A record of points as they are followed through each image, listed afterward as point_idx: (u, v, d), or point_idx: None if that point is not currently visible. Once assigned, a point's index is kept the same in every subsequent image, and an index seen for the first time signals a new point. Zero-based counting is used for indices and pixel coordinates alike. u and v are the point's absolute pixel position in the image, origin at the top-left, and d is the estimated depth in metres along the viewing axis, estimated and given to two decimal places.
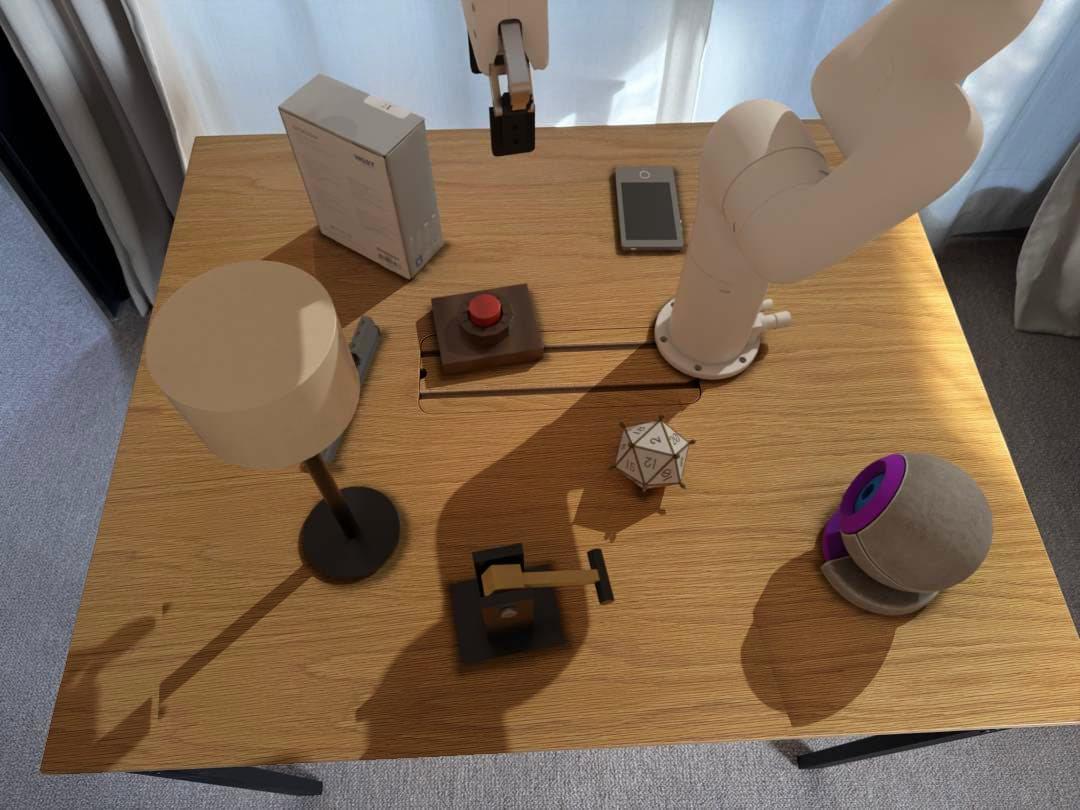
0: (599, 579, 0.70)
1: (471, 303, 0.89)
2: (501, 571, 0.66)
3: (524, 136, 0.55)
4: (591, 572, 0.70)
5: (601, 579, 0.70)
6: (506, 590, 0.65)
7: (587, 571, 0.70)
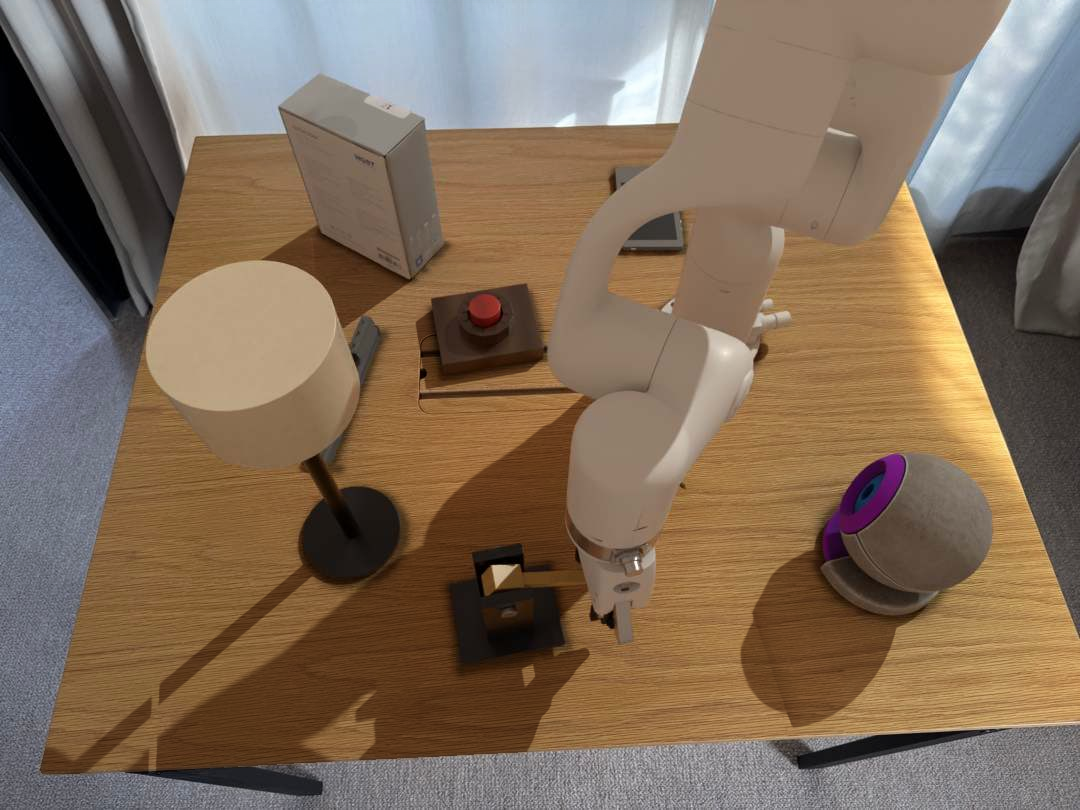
0: None
1: (471, 303, 0.89)
2: (501, 571, 0.66)
3: None
4: None
5: None
6: (506, 590, 0.65)
7: None
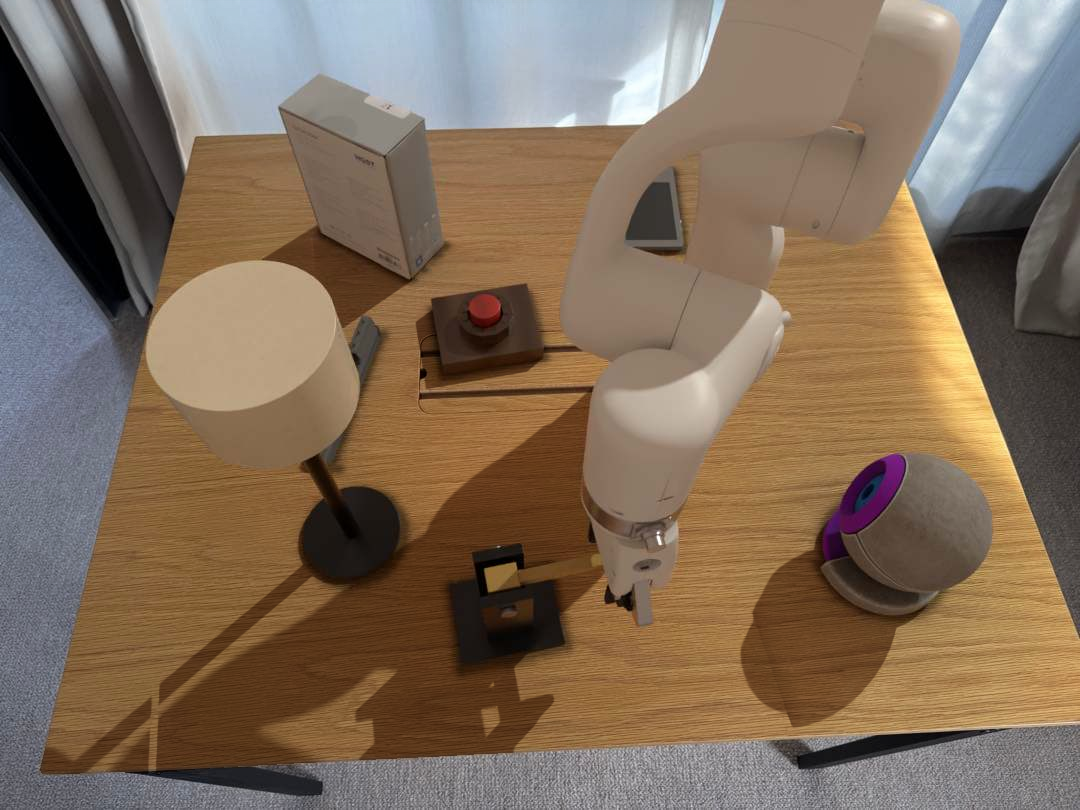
0: None
1: (471, 303, 0.89)
2: (494, 573, 0.66)
3: None
4: (600, 556, 0.67)
5: None
6: (502, 591, 0.65)
7: (596, 556, 0.67)
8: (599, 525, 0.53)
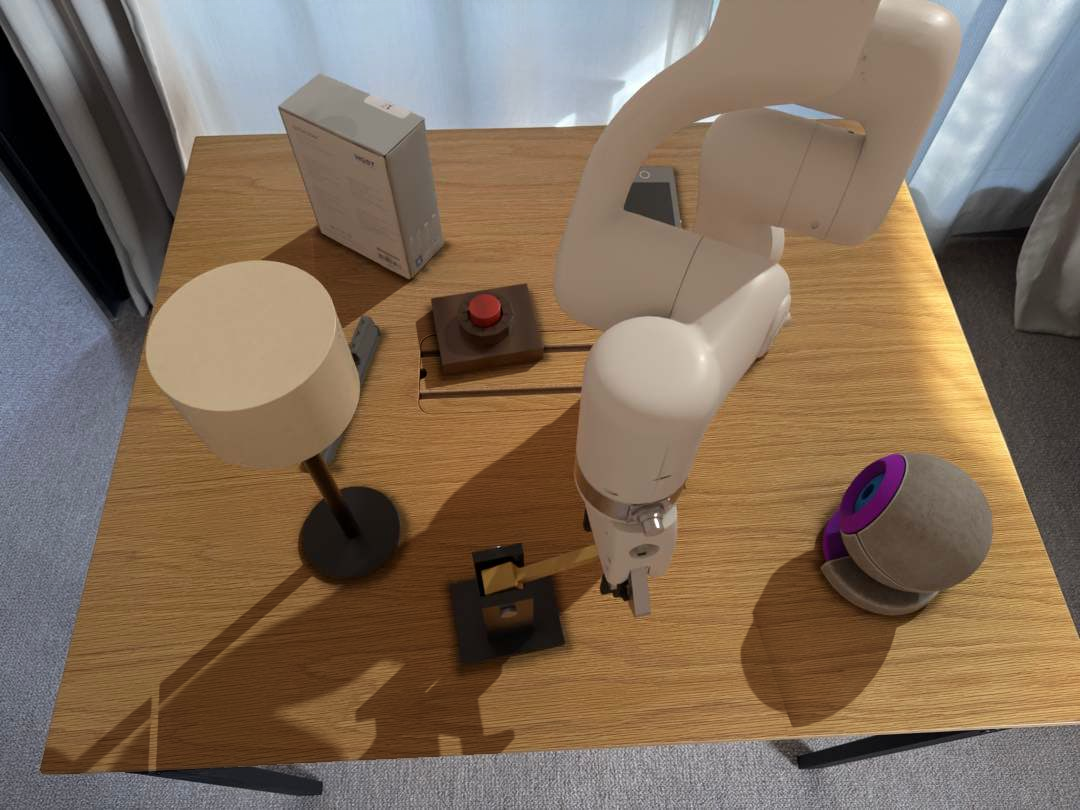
0: None
1: (471, 303, 0.89)
2: (491, 574, 0.66)
3: None
4: (596, 547, 0.65)
5: None
6: (499, 592, 0.65)
7: (591, 547, 0.65)
8: (593, 508, 0.51)
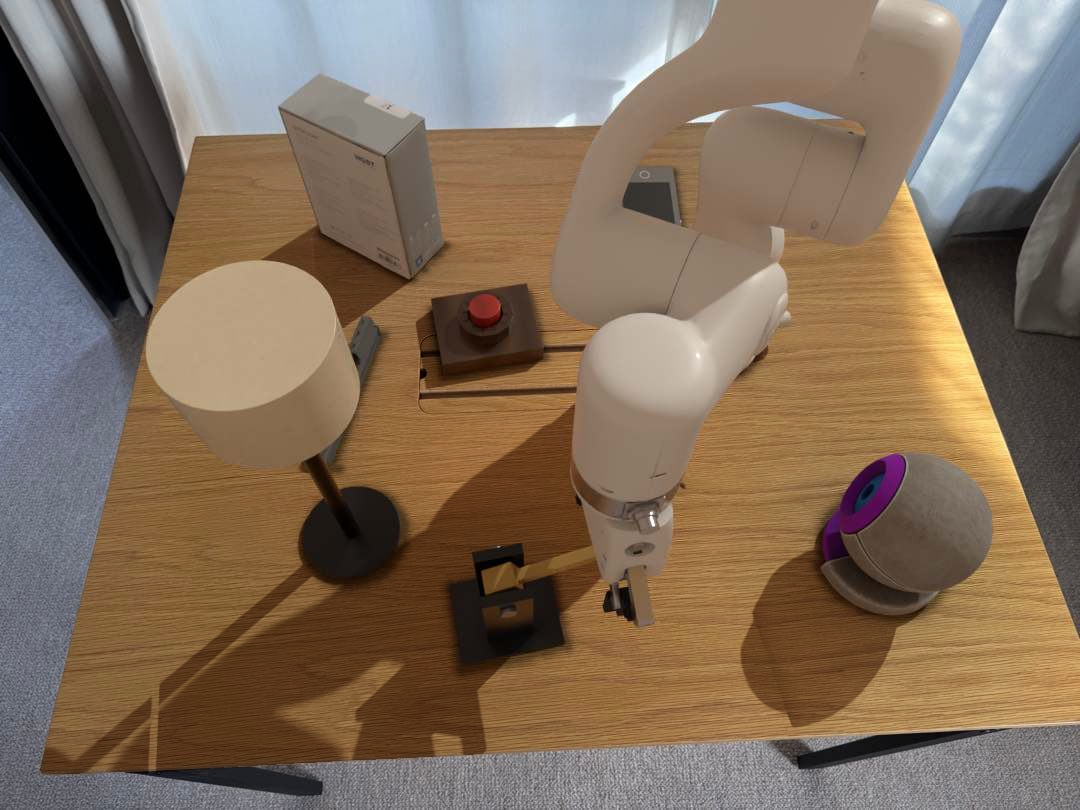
0: None
1: (471, 303, 0.89)
2: (491, 574, 0.66)
3: None
4: None
5: None
6: (499, 592, 0.65)
7: (591, 547, 0.65)
8: (589, 506, 0.50)
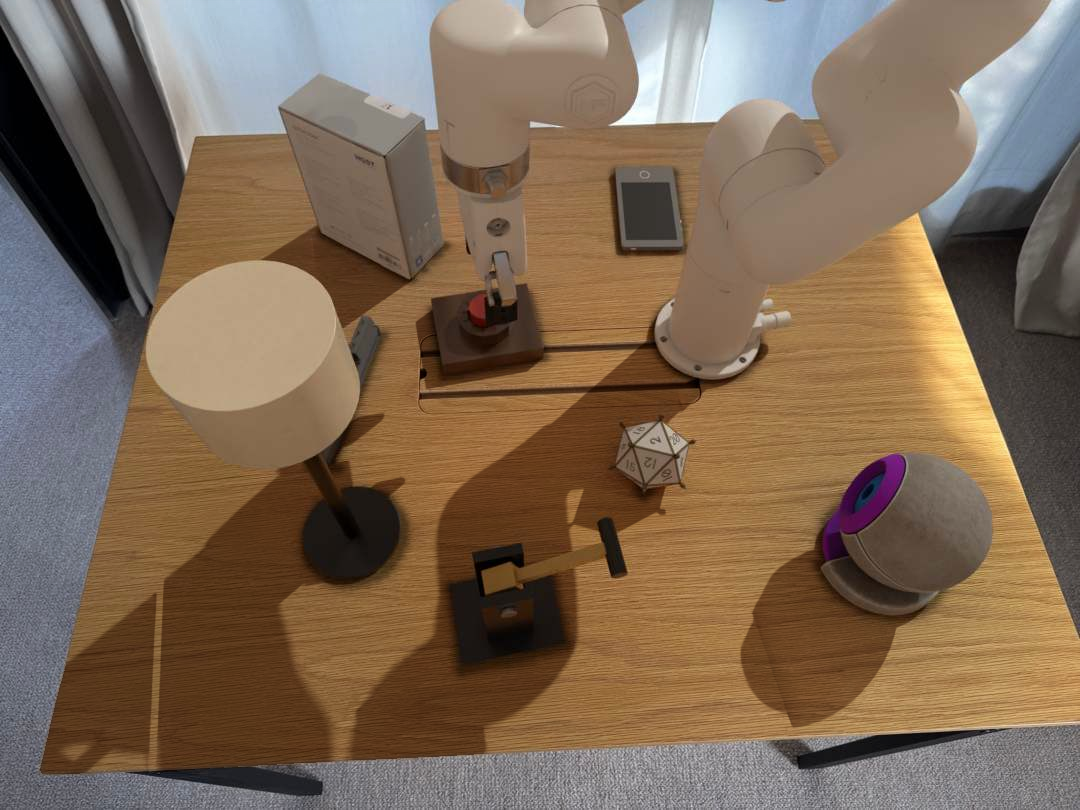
0: (606, 552, 0.64)
1: (471, 303, 0.89)
2: (491, 574, 0.66)
3: (509, 315, 0.75)
4: (596, 547, 0.65)
5: (607, 552, 0.64)
6: (499, 592, 0.65)
7: (591, 547, 0.65)
8: (455, 187, 0.65)
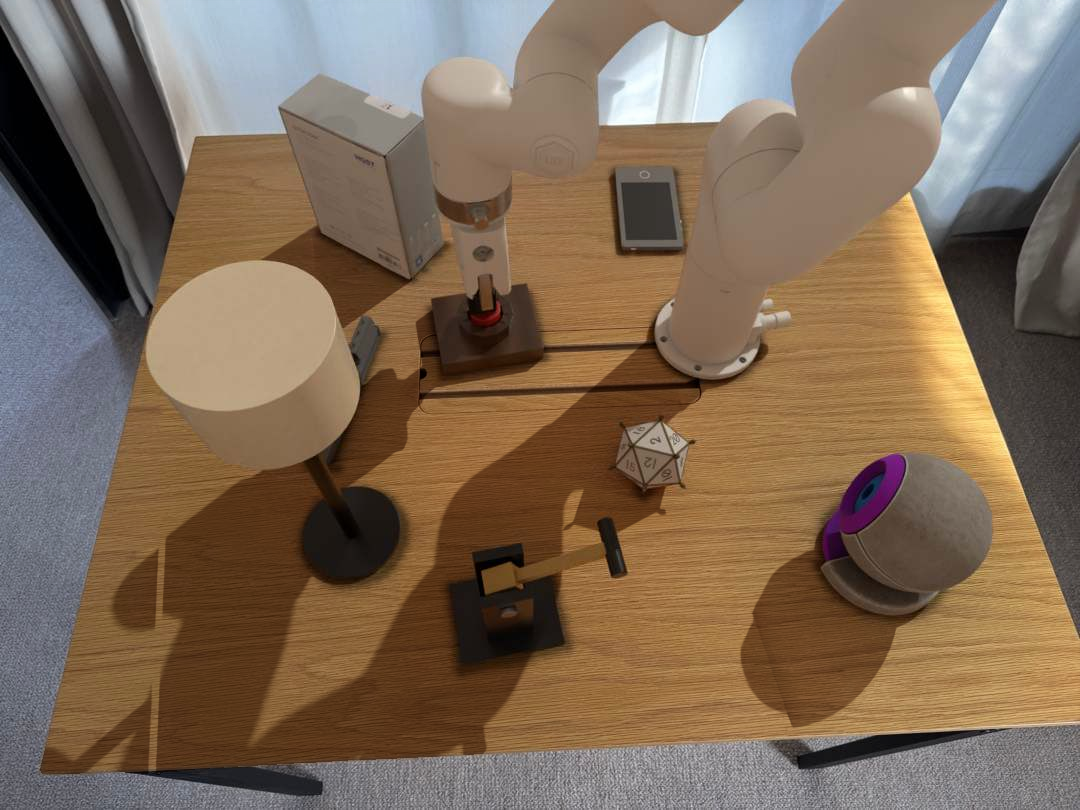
0: (606, 552, 0.64)
1: None
2: (491, 574, 0.66)
3: None
4: (596, 547, 0.65)
5: (607, 552, 0.64)
6: (499, 592, 0.65)
7: (591, 547, 0.65)
8: (445, 218, 0.73)
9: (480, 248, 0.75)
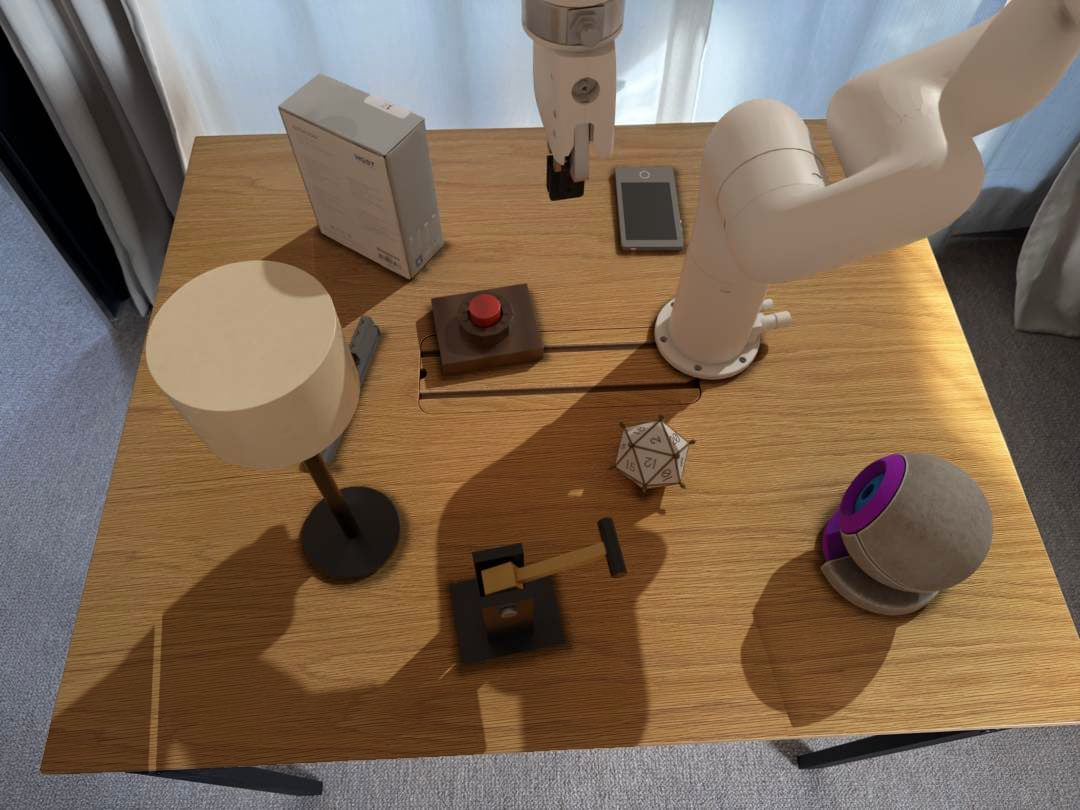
0: (606, 552, 0.64)
1: (471, 303, 0.89)
2: (491, 574, 0.66)
3: (576, 186, 0.69)
4: (596, 547, 0.65)
5: (607, 552, 0.64)
6: (499, 592, 0.65)
7: (591, 547, 0.65)
8: (538, 39, 0.55)
9: (582, 83, 0.56)
